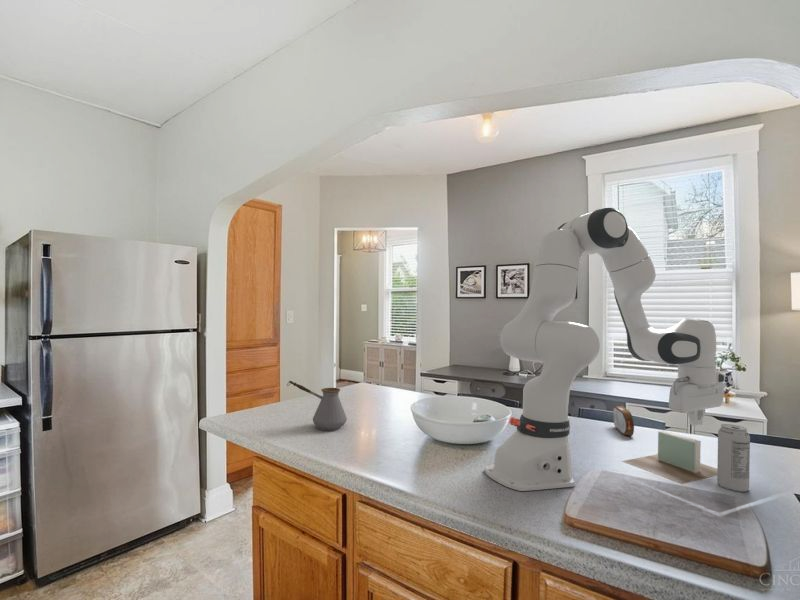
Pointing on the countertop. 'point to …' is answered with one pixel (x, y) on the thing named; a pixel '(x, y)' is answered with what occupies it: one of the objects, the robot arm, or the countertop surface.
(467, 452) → the countertop surface
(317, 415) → the coffee pot
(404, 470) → the countertop surface
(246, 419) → the countertop surface
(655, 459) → the board
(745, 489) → the energy drink can
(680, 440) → the tile
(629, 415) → the tin
